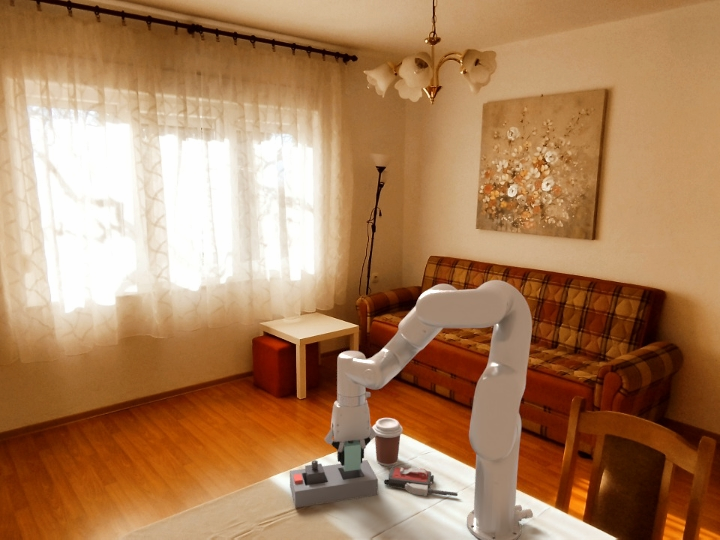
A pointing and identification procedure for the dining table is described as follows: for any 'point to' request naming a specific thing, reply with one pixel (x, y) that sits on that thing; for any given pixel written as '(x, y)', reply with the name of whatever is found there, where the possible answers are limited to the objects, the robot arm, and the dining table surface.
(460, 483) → the dining table surface
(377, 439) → the coffee cup
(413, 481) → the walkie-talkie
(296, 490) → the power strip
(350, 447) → the plug
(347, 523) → the dining table surface
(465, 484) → the dining table surface
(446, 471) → the dining table surface
